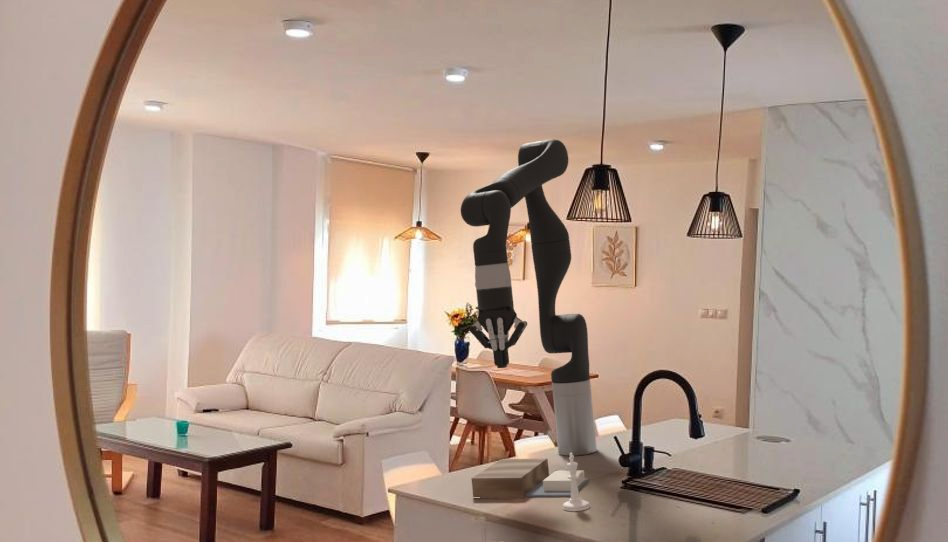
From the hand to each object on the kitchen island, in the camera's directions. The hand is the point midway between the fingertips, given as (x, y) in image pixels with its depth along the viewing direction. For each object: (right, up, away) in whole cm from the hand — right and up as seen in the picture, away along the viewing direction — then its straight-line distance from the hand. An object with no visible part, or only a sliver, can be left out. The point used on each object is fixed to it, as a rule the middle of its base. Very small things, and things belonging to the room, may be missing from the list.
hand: (502, 367), depth 190 cm
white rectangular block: (+12, -21, -9) cm, 26 cm away
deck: (+2, -24, -4) cm, 25 cm away
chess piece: (+13, -23, -26) cm, 37 cm away
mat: (+11, -23, -9) cm, 27 cm away
